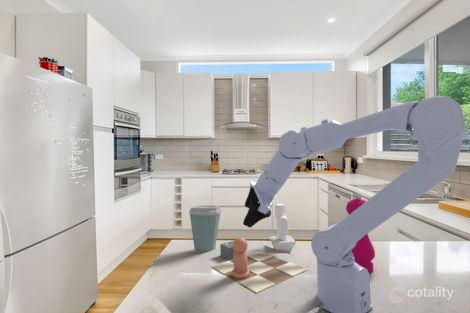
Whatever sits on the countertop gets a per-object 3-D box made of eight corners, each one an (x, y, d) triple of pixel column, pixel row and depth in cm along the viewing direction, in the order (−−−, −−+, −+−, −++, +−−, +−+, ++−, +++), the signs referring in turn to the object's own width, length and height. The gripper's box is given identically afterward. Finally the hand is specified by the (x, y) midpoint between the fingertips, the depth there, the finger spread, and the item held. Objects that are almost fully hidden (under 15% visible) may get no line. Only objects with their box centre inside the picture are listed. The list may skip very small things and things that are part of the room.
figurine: (274, 256, 79) (272, 206, 79) (268, 245, 88) (267, 201, 89) (297, 254, 79) (296, 206, 80) (289, 244, 89) (287, 201, 89)
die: (241, 259, 77) (241, 244, 77) (229, 263, 74) (229, 247, 74) (232, 255, 80) (232, 240, 81) (220, 259, 78) (220, 243, 78)
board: (308, 273, 66) (308, 269, 66) (256, 298, 55) (256, 292, 55) (259, 254, 80) (259, 250, 81) (211, 270, 69) (211, 266, 69)
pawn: (253, 275, 64) (252, 237, 64) (239, 280, 61) (238, 241, 61) (242, 269, 67) (241, 233, 67) (228, 274, 65) (227, 237, 65)
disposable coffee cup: (186, 248, 88) (185, 204, 88) (217, 243, 92) (216, 201, 92) (193, 259, 78) (192, 209, 78) (226, 253, 82) (225, 206, 82)
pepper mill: (379, 275, 64) (377, 195, 65) (348, 273, 66) (346, 195, 66) (370, 263, 72) (368, 191, 72) (342, 262, 73) (340, 191, 73)
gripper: (260, 155, 68) (235, 193, 73) (260, 183, 55) (231, 227, 60) (283, 167, 69) (257, 204, 74) (289, 198, 55) (257, 240, 61)
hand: (247, 215), depth 67 cm, fingers open, 7 cm apart
